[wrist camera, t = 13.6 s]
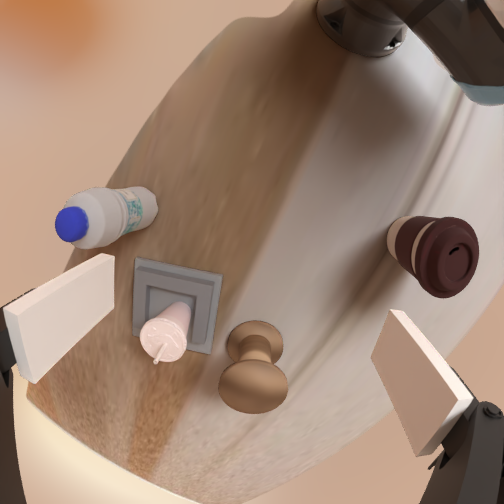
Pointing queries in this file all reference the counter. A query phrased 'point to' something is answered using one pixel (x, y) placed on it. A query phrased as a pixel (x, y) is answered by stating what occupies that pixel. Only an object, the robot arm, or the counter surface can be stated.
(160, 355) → the smoothie
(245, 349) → the bobbin
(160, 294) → the notch board
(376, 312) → the counter surface
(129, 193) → the bottle
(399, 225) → the coffee cup
